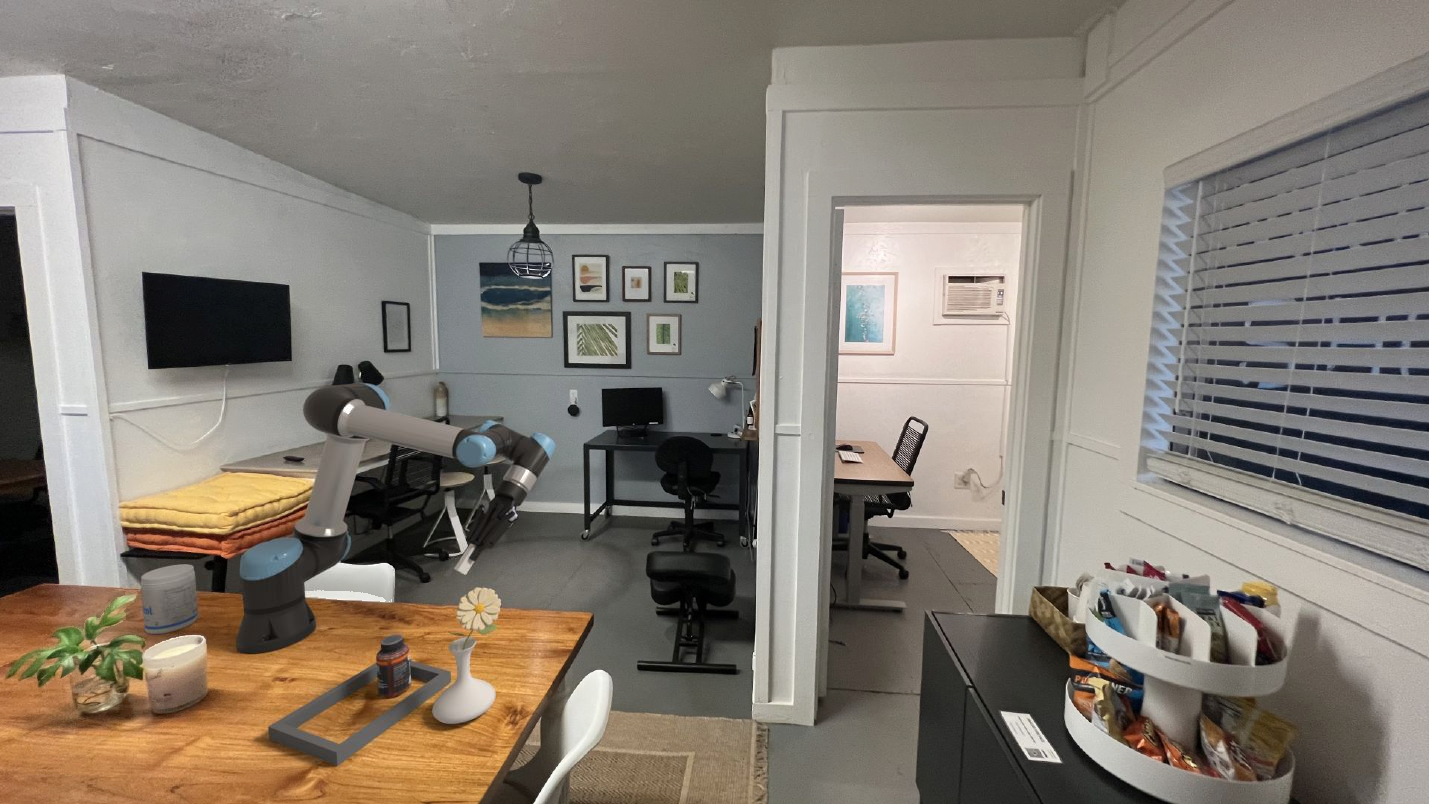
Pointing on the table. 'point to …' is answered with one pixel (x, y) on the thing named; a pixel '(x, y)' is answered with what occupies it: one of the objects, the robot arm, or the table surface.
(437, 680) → the corral
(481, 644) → the table surface
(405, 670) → the supplement bottle
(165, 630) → the supplement tub
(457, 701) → the flower in vase
